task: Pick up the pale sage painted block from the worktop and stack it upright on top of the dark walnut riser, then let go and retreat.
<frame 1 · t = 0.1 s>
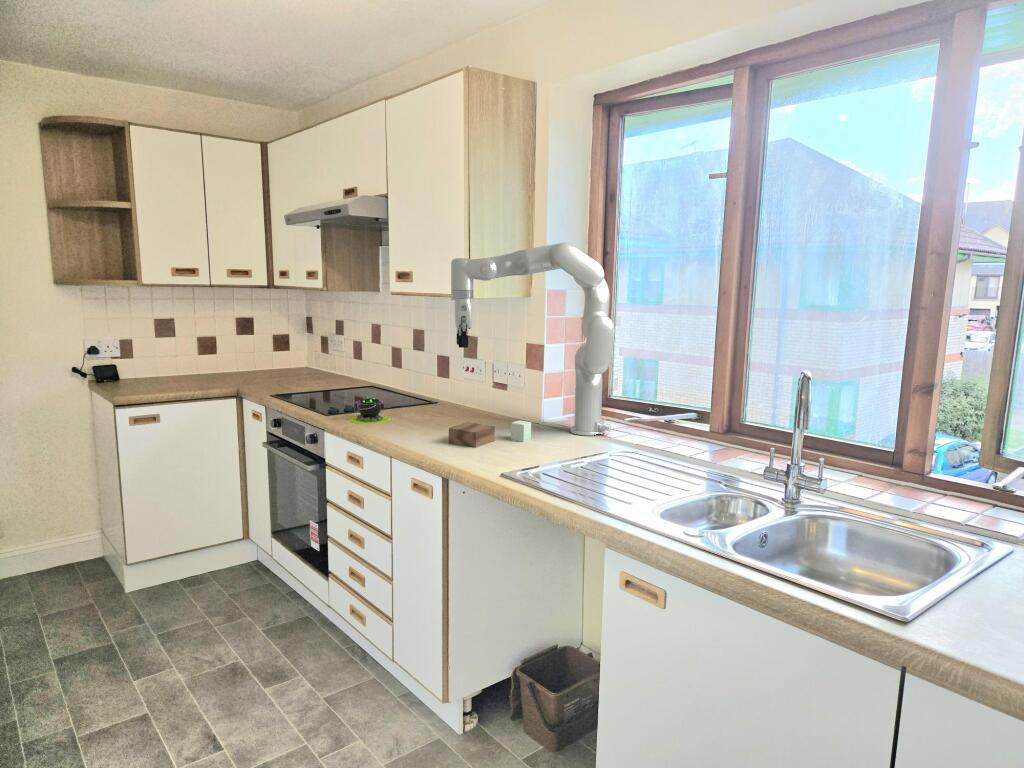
hand: (462, 346, 228), 31 cm above the worktop, tool pointing down, fingers open, 9 cm apart
toy cauldron: (370, 420, 255), on the worktop
walnut riser: (471, 441, 223), on the worktop
sage block: (520, 439, 227), on the worktop
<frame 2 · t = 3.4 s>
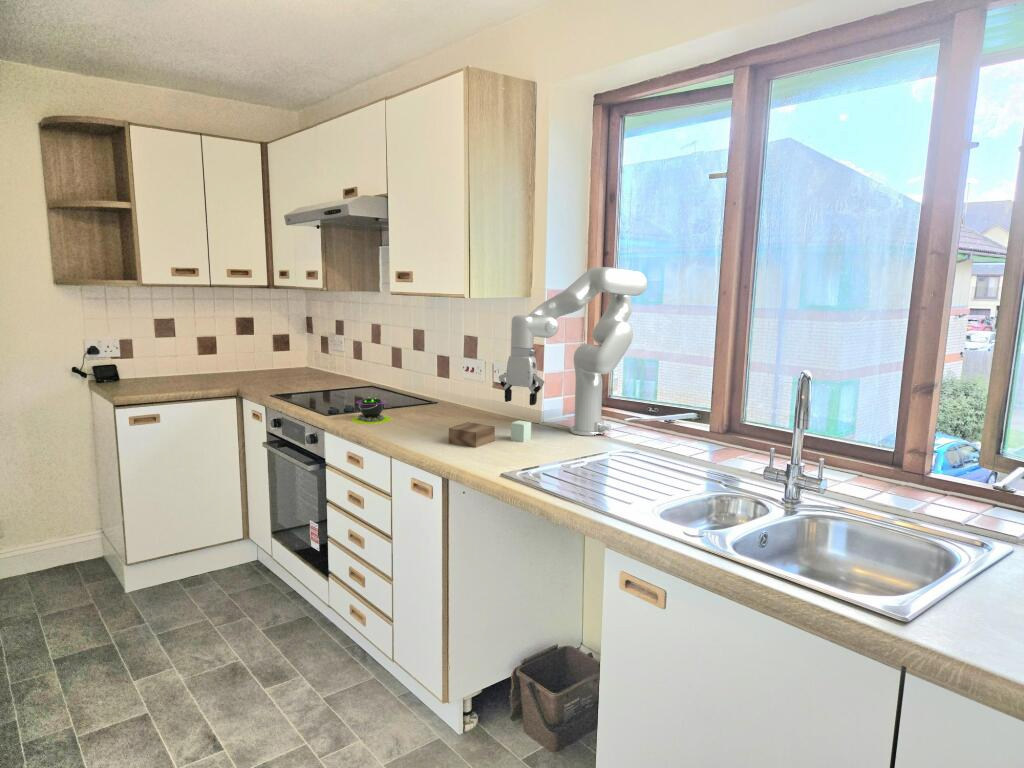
hand: (520, 403, 225), 13 cm above the worktop, tool pointing down, fingers open, 9 cm apart
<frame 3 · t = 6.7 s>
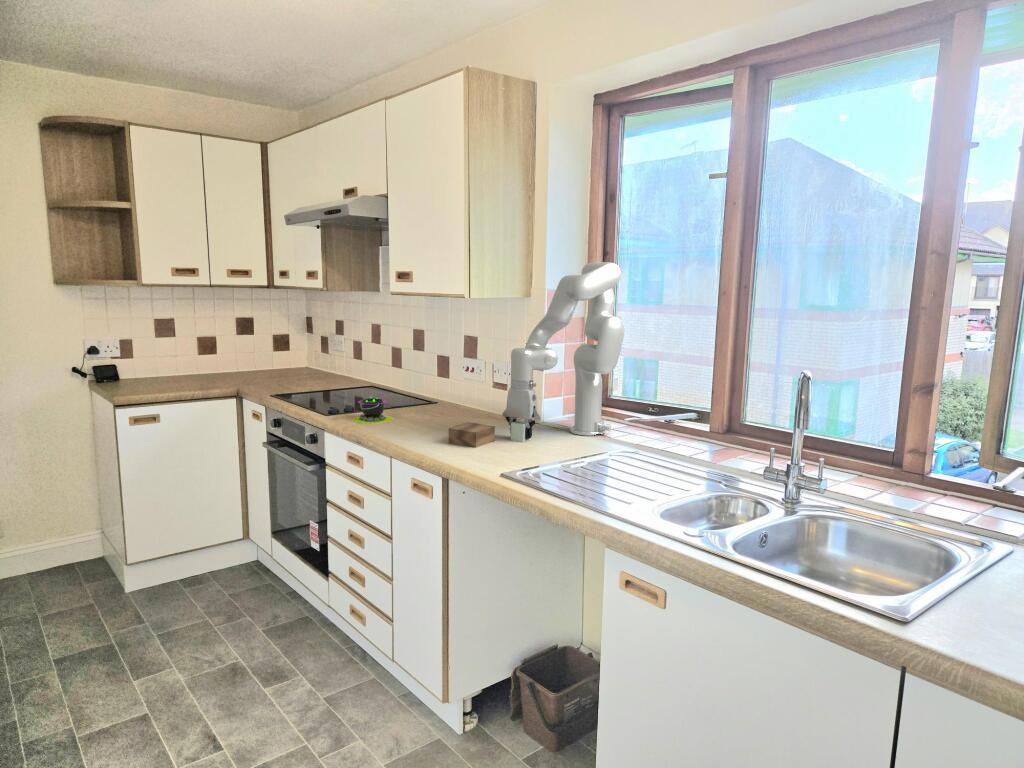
hand: (520, 437, 227), 1 cm above the worktop, tool pointing down, fingers closed on sage block, 5 cm apart
sage block: (520, 439, 227), on the worktop, touching gripper
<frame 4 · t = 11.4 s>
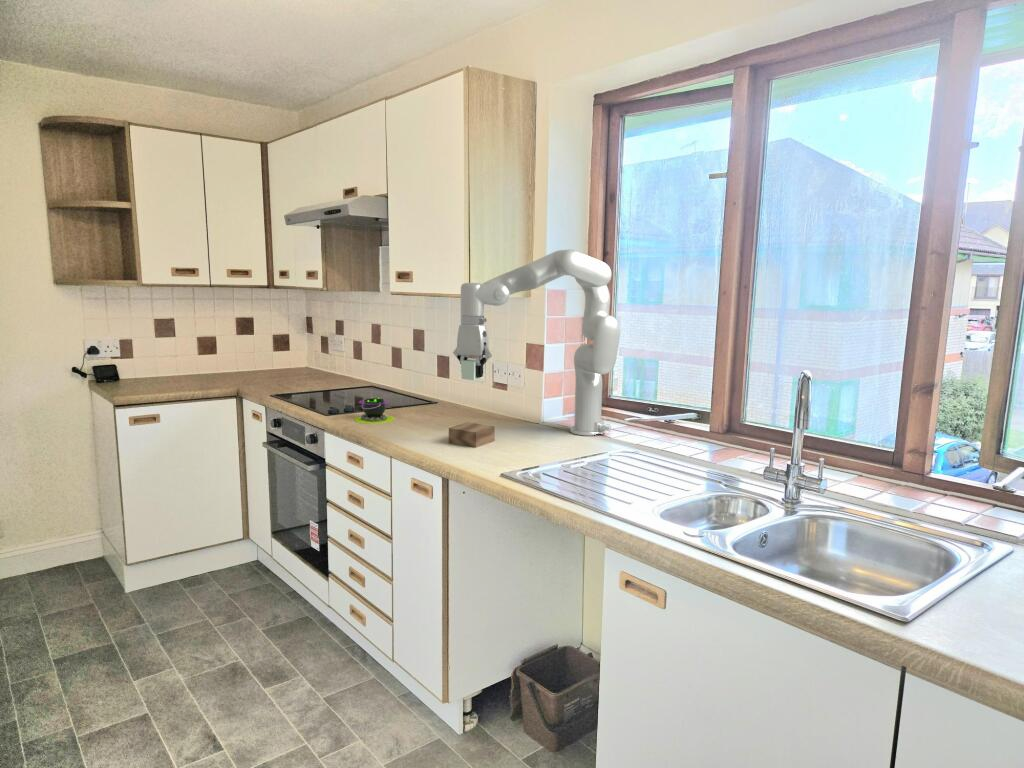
hand: (472, 375, 220), 22 cm above the worktop, tool pointing down, fingers closed on sage block, 5 cm apart
sage block: (472, 378, 220), point 21 cm above the worktop, touching gripper
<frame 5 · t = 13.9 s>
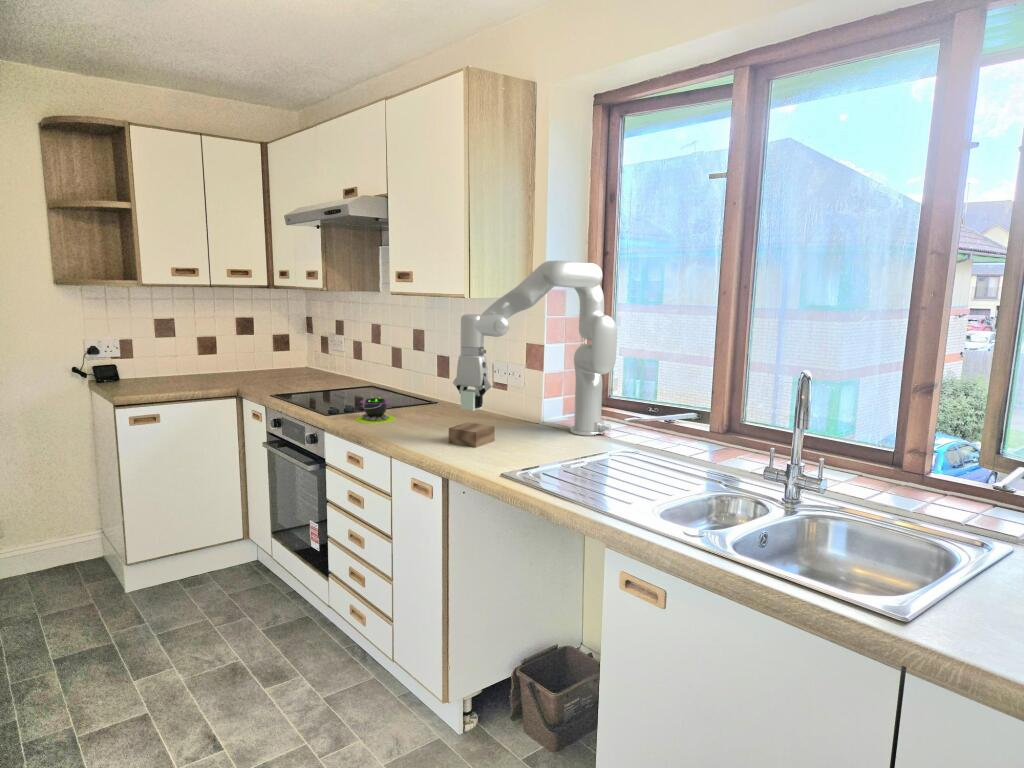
hand: (471, 405, 221), 12 cm above the worktop, tool pointing down, fingers closed on sage block, 5 cm apart
sage block: (471, 408, 221), point 11 cm above the worktop, touching gripper
when the fingers open (7 cm above the worktop, at t = 16.4 s): sage block drops 1 cm, resting on walnut riser.
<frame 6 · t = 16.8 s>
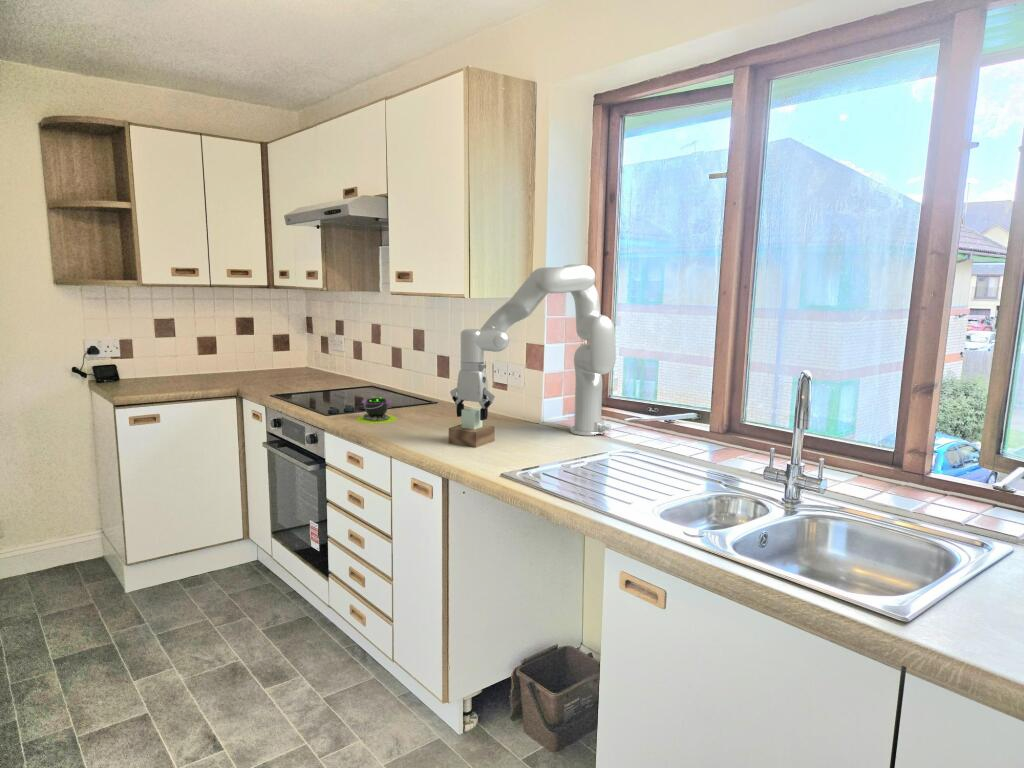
hand: (471, 417, 222), 8 cm above the worktop, tool pointing down, fingers open, 9 cm apart
sage block: (472, 427, 222), point 5 cm above the worktop, touching walnut riser
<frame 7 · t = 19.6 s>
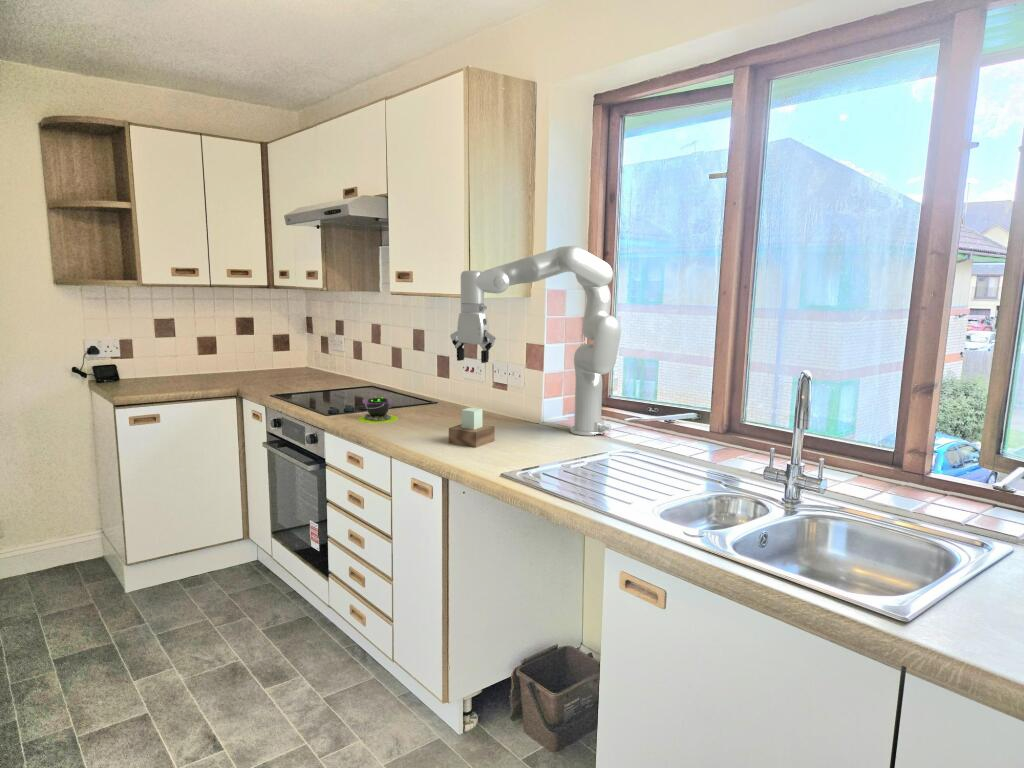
hand: (472, 361, 219), 27 cm above the worktop, tool pointing down, fingers open, 9 cm apart
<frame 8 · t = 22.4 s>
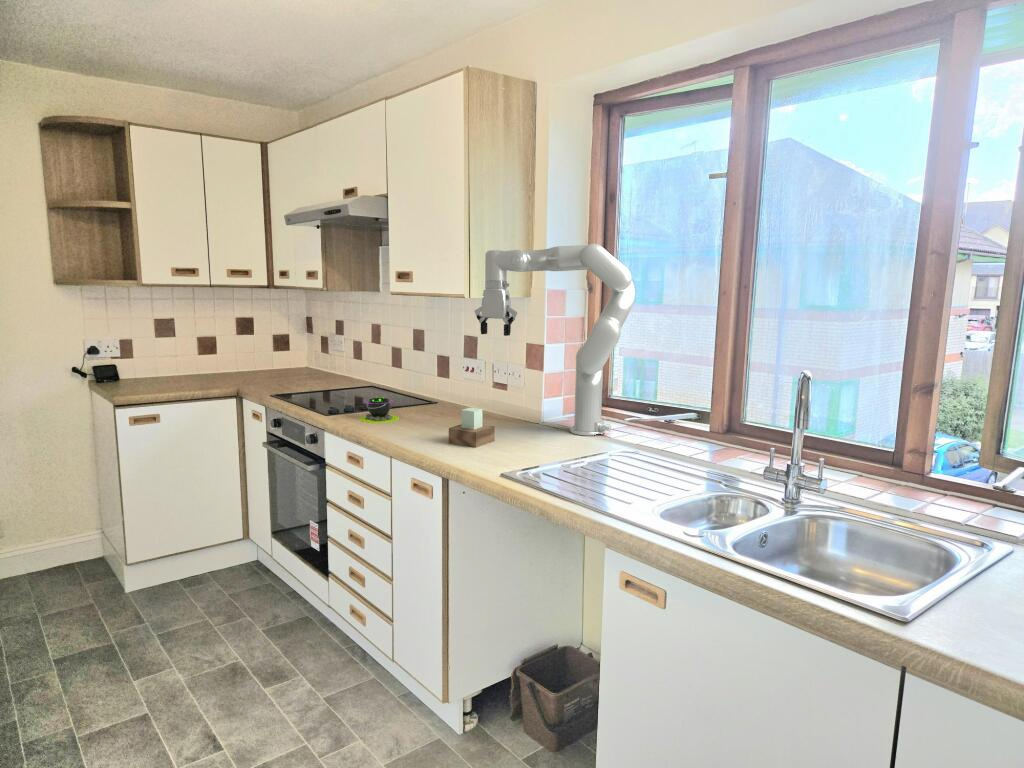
hand: (495, 334, 237), 34 cm above the worktop, tool pointing down, fingers open, 9 cm apart
at the end: sage block inside the target area on the walnut riser (0.0 cm from its centre), point 5.0 cm above the walnut riser's base; sage block tilted 0°; the gripper is holding nothing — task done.
